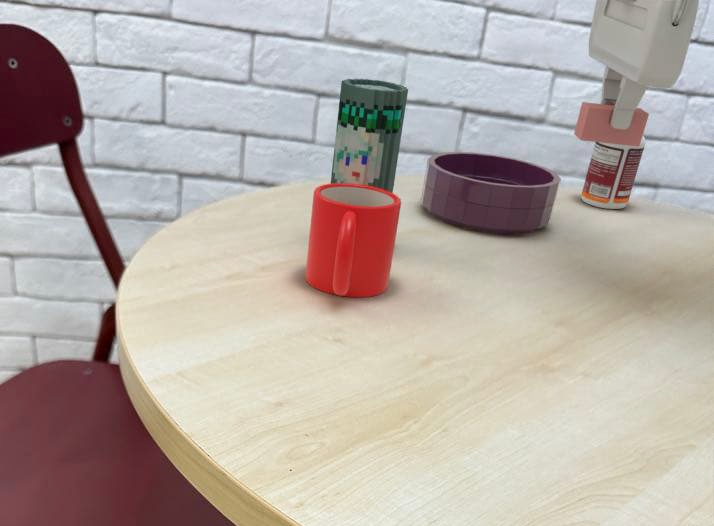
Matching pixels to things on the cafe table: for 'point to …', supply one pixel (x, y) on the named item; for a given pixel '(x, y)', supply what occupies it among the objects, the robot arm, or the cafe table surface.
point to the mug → (352, 239)
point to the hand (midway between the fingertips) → (612, 123)
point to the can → (368, 132)
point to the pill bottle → (611, 174)
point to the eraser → (608, 125)
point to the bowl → (489, 192)
